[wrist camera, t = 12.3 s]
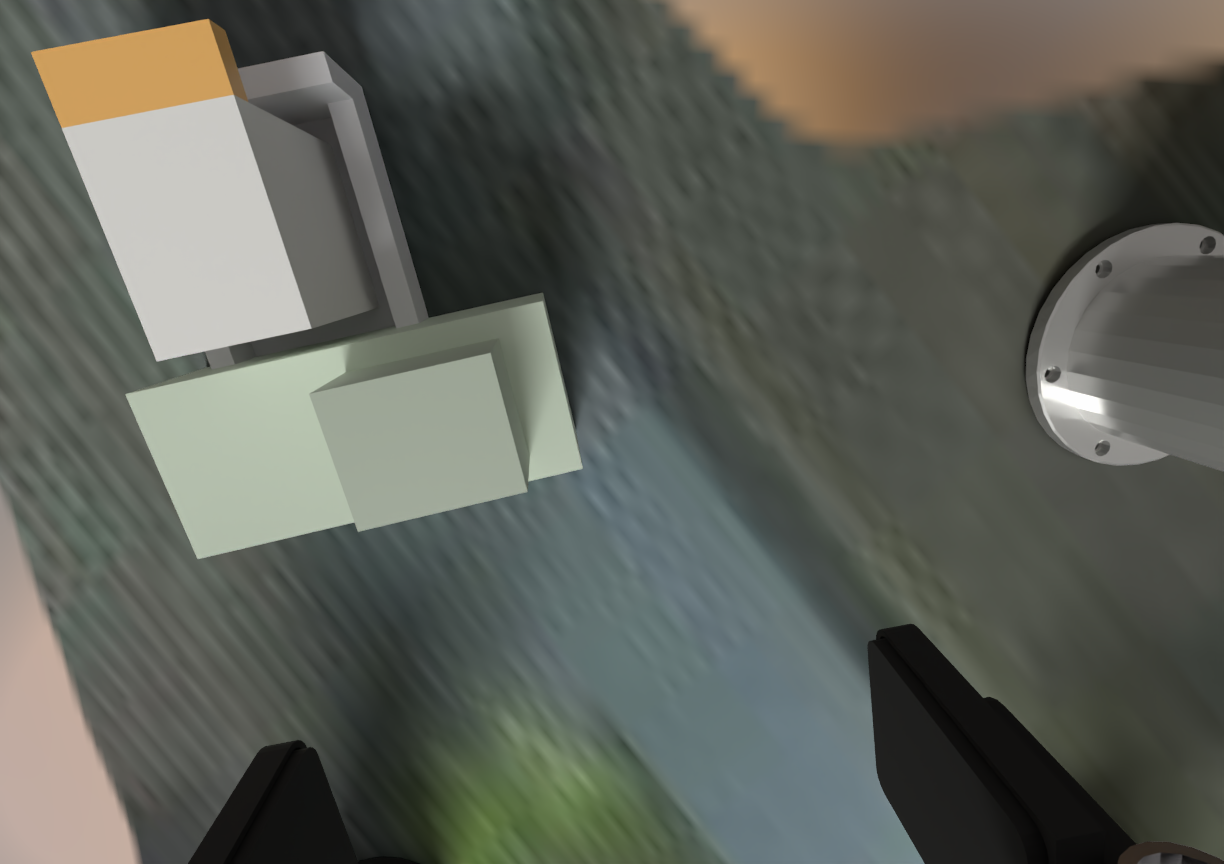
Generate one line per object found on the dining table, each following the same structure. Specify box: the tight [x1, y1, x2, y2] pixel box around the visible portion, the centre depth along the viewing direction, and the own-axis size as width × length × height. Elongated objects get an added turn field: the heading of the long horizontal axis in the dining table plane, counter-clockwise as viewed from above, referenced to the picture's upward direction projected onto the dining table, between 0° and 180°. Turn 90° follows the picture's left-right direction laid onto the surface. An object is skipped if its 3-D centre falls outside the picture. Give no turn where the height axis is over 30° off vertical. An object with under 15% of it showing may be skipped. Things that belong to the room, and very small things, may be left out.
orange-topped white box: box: [31, 19, 379, 361], centre depth 24 cm, size 5×9×9 cm, turn 11°
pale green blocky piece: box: [125, 51, 583, 559], centre depth 25 cm, size 16×17×10 cm
